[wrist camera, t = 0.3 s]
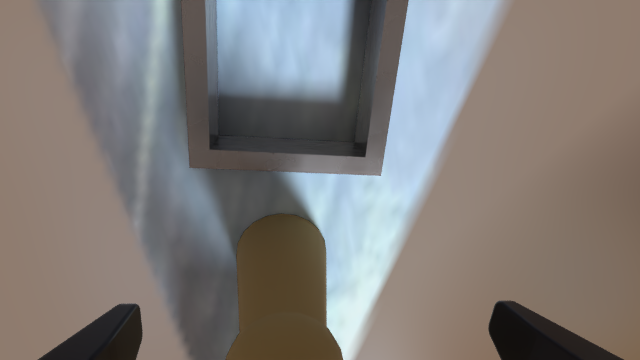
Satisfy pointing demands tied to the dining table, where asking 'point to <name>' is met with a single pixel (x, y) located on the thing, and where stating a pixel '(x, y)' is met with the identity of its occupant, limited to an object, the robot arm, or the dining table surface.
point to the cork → (282, 292)
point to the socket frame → (281, 152)
